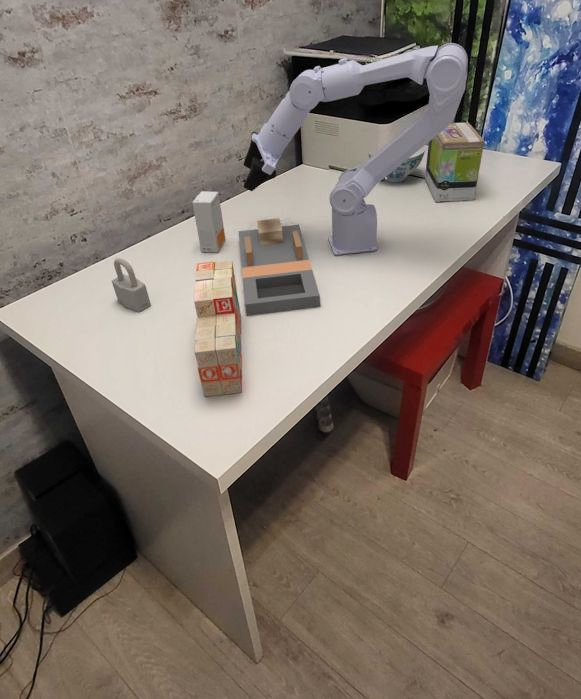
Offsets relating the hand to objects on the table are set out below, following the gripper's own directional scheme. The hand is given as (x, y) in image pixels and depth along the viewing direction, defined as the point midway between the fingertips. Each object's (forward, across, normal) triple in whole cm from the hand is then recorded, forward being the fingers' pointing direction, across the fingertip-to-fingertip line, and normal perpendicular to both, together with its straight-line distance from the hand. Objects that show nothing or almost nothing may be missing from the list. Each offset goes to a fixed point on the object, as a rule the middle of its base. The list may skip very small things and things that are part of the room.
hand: (247, 177), depth 114 cm
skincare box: (+16, +6, +1) cm, 18 cm away
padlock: (+21, +27, -14) cm, 37 cm away
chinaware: (-6, -25, +44) cm, 50 cm away
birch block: (+6, +8, +9) cm, 14 cm away
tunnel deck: (+5, +19, +10) cm, 22 cm away
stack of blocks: (+6, +44, -2) cm, 44 cm away
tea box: (-15, -14, +52) cm, 55 cm away
